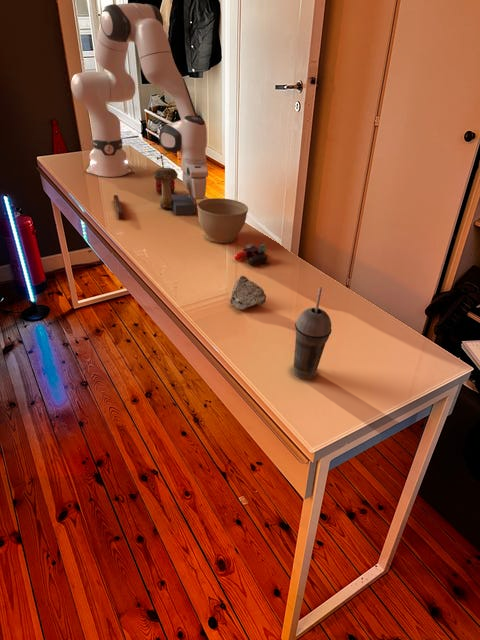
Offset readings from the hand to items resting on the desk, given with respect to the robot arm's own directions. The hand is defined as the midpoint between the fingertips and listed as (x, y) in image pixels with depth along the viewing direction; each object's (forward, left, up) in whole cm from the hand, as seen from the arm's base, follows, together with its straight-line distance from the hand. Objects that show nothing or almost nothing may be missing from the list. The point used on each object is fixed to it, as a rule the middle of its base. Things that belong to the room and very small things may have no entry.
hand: (192, 203), depth 177 cm
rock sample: (+70, -2, -2) cm, 70 cm away
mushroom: (0, -10, -2) cm, 10 cm away
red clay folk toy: (-18, -7, -2) cm, 19 cm away
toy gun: (+44, +7, -2) cm, 45 cm away
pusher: (0, -4, -2) cm, 5 cm away
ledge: (0, -27, -2) cm, 27 cm away
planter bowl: (+28, +3, -2) cm, 28 cm away
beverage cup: (+99, +1, -2) cm, 99 cm away
